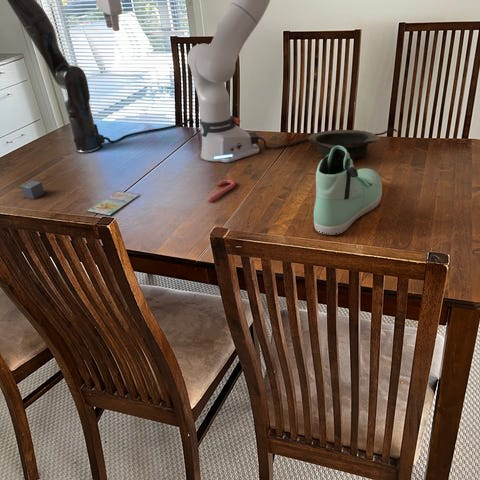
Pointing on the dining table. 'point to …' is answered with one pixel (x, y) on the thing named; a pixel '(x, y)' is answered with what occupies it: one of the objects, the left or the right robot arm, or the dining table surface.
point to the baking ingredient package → (113, 203)
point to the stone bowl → (343, 141)
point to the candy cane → (222, 189)
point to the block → (33, 189)
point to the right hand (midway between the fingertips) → (113, 29)
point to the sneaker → (343, 192)
